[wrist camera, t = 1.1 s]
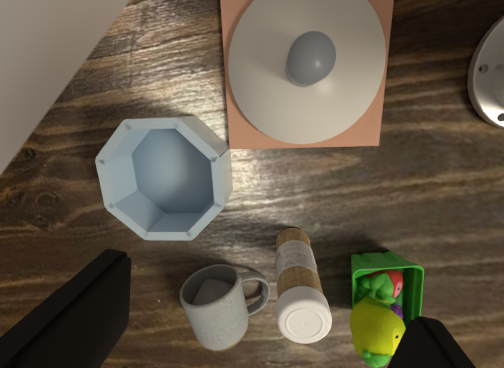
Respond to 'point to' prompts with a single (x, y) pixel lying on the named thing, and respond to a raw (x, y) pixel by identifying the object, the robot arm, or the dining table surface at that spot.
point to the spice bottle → (299, 290)
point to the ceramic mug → (220, 304)
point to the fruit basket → (383, 303)
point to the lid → (306, 66)
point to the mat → (251, 138)
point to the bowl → (165, 176)
